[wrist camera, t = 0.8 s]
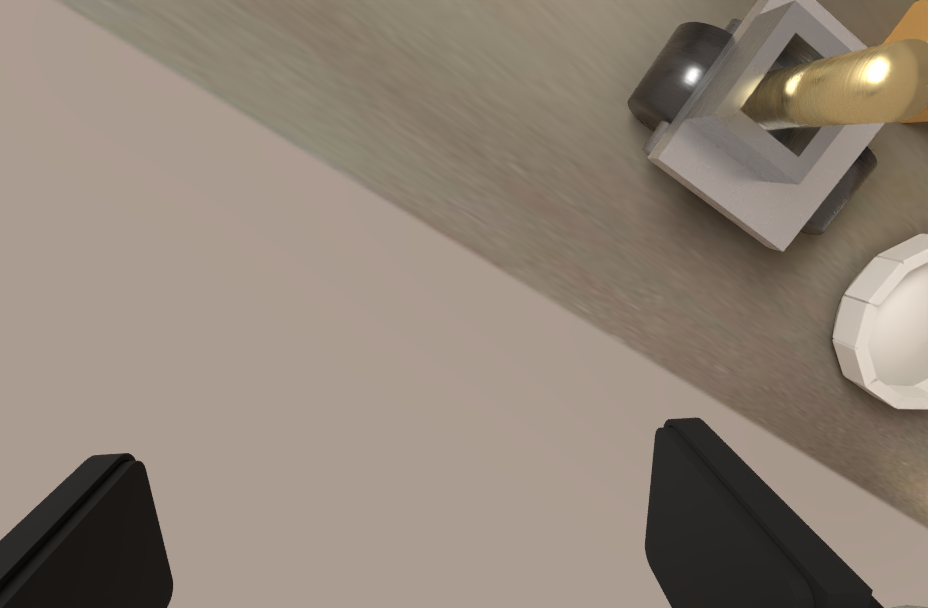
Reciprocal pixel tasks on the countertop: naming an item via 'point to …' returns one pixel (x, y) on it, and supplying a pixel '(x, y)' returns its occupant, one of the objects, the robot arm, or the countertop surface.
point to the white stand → (752, 122)
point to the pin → (845, 89)
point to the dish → (888, 326)
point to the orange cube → (918, 23)
